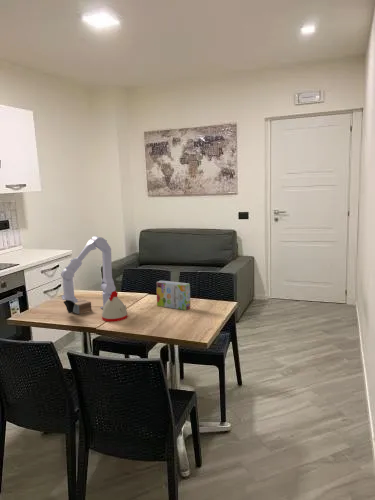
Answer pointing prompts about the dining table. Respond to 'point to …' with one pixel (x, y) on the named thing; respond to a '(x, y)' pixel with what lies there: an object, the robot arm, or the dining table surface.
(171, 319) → the dining table surface
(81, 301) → the cabinet
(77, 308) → the door
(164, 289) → the snack box
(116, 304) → the kitchen timer
